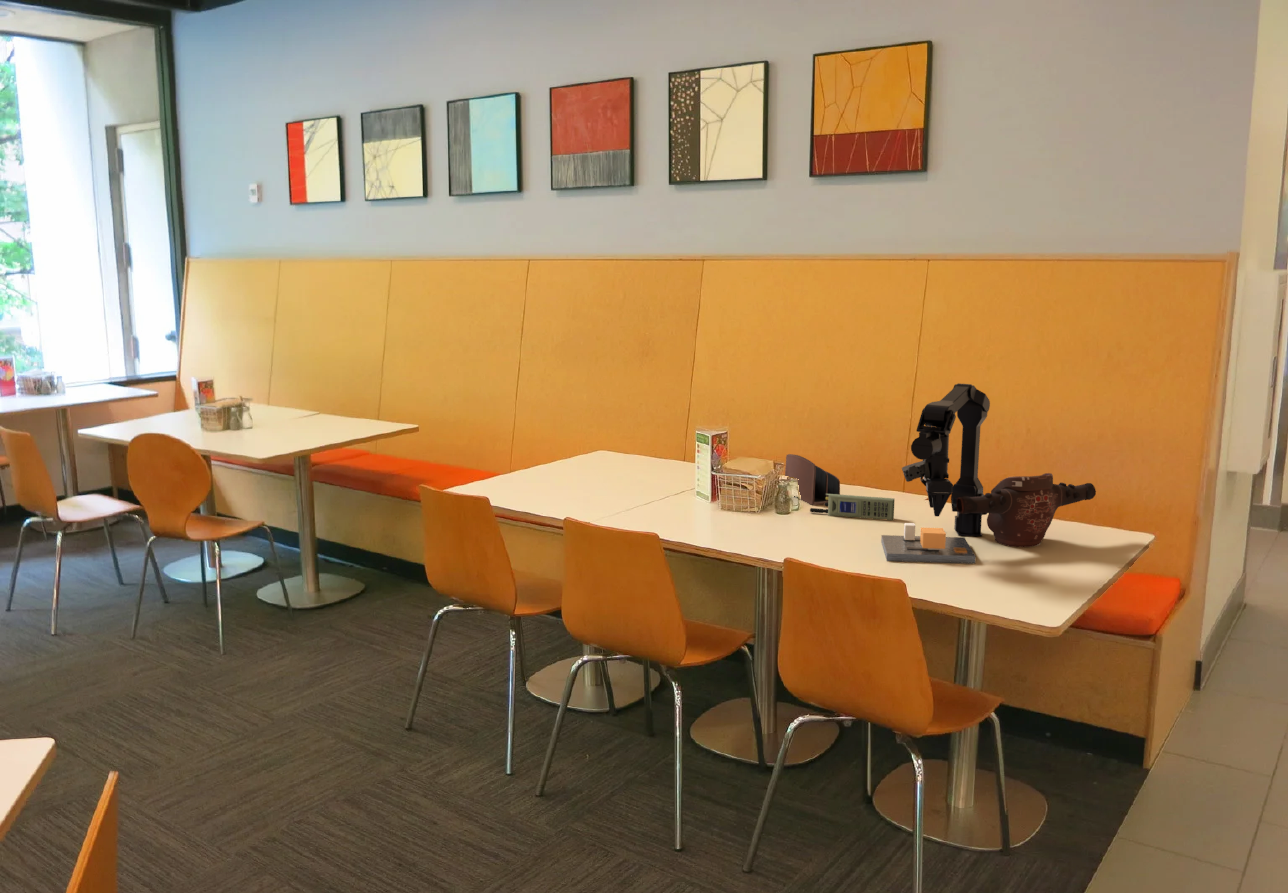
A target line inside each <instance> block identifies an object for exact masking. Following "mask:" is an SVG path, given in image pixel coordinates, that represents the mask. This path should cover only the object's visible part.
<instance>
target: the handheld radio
mask: <svg viewBox="0 0 1288 893" xmlns="http://www.w3.org/2000/svg"><path fill="white" fill-rule="evenodd" d="M826 495H829V497H826V500H828V503H827V502H826V503H825V504H824V506H825V507H827V508H825V509H824V508H816V507H815V508H814V507H810V508H809V513H815V514H816V513H819V514H827V516H829V517H841V516H847V517H846V518H854V517H861V518H860V519H867V518H873V519H872V520H880V519H887V520H886V521H894V520H893V519H895V498H894V497H893V498H892V497H881V496H879V497H878V496H864V495H851V494H840V495H839V494H826Z"/></svg>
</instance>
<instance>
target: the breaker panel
mask: <svg viewBox="0 0 1288 893" xmlns="http://www.w3.org/2000/svg"><path fill="white" fill-rule="evenodd" d="M920 536H921V535H919V536H918V535H915V540H905V539H904V535H891V534H889V535H888V534H881V540H880V543H881V545H882V550H883V553H884V556H885V559H886V561H887V562H909V563H910V562H912V563H935V564H936V563H940V564H941V563H942V564H966V565H967V564H968V565H969V564H971V565H975V564H976V555H975V553H974V551H973V549H972V548H971V546H970V544H969V543H968V541H967V539H966V537H965V536H963V537H958V536H957V537H956V536H946V541H945V549H939V550H928V548H923V547H922V545H921V543H920Z"/></svg>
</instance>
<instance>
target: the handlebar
mask: <svg viewBox="0 0 1288 893" xmlns="http://www.w3.org/2000/svg"><path fill="white" fill-rule="evenodd" d="M1096 492H1097V491H1096V487H1095V485H1094V484H1093V483H1091V482H1087V483H1082V484H1078V485H1073V483H1071V484H1068V485H1067V483H1065V482H1059V483H1058V484H1055V483H1054V476H1053V474H1052V473H1051V472H1048V473H1043V474H1041V475H1031V476H1026V475H1025V476H1024V475H1023V476H1022V475H1020V476H1008V477H1006V478H1004V479H1001V480H1000V481H999V482H998V483H997V484H996V485H995V486H994V487H993V488H992V489H991V491H990V492H986V493H985V494H984V496H979V497H969V496H964V497H960V498H958V499H957V505H956V507H957V511H958V513H960V514H961V513H962V514H969V513H987V517H986V525H987V527H988V529H990V531H991V532H992V533H993V538H994V541H995V542H996V543H997V544H999V545H1003V546H1006V547H1007V546H1008V547H1012V548H1031V547H1037V546H1039V545H1040V544H1041V543H1042V541H1043V540H1044V539H1045V535H1046V533H1047V531H1048V530H1049V528H1050V526H1051V524H1052V522H1053V518H1054V516H1055V513H1056V512H1057V510H1058V509H1059V508H1060V507H1063V506H1067V505H1071V504H1075V503H1079V502H1082V501H1089V500H1092V499H1094V497H1095V496H1096Z"/></svg>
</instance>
